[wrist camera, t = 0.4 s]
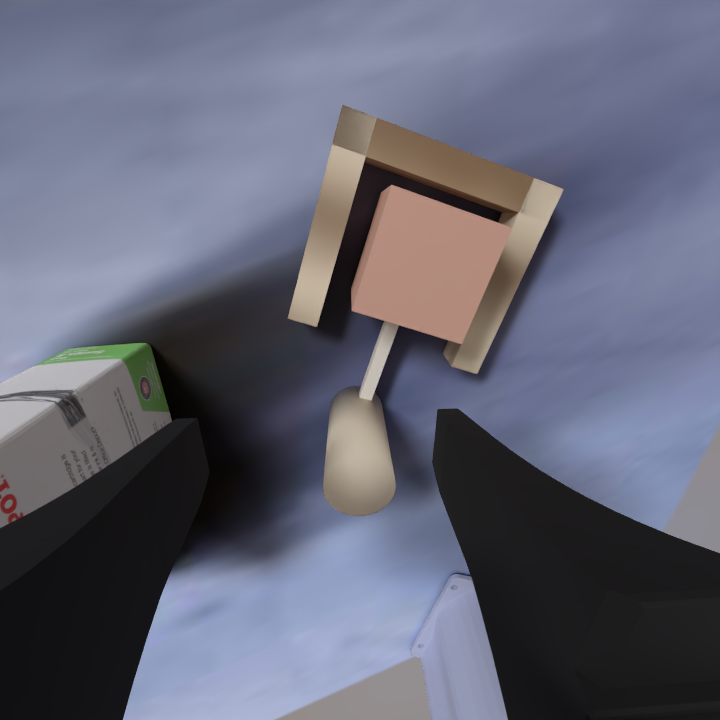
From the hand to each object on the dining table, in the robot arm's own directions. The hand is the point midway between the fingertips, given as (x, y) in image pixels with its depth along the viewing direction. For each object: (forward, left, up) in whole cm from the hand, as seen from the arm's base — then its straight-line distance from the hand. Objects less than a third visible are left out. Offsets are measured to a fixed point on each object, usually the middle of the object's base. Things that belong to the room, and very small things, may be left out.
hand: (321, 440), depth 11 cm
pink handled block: (+1, -3, -10) cm, 11 cm away
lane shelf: (+6, -3, -11) cm, 12 cm away
